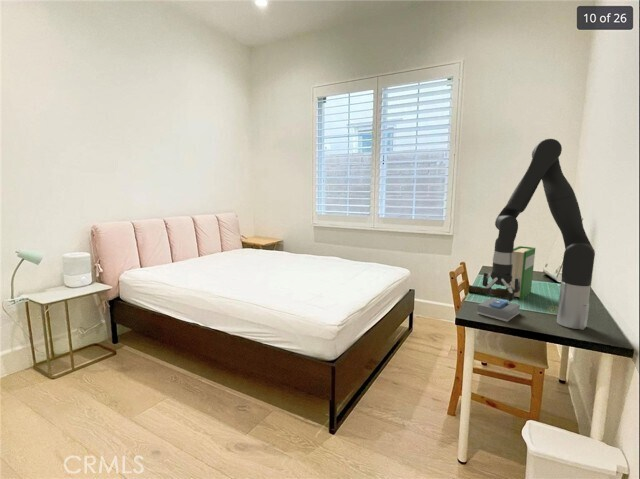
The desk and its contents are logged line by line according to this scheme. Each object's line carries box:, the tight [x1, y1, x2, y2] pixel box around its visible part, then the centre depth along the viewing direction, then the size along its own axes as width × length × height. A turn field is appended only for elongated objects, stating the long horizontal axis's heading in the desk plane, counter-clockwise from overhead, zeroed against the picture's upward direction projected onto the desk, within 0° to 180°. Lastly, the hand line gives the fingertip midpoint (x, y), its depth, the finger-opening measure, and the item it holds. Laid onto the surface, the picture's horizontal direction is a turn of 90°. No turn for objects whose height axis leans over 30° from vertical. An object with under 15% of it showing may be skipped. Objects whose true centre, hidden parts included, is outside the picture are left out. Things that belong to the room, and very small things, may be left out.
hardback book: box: [505, 245, 536, 300], centre depth 170 cm, size 18×7×24 cm, turn 135°
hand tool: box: [468, 284, 509, 299], centre depth 170 cm, size 19×4×5 cm, turn 53°
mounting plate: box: [476, 297, 521, 322], centre depth 144 cm, size 12×14×4 cm
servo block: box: [490, 298, 509, 308], centre depth 144 cm, size 4×10×5 cm, turn 133°
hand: (499, 298), depth 143 cm, fingers open, 8 cm apart
